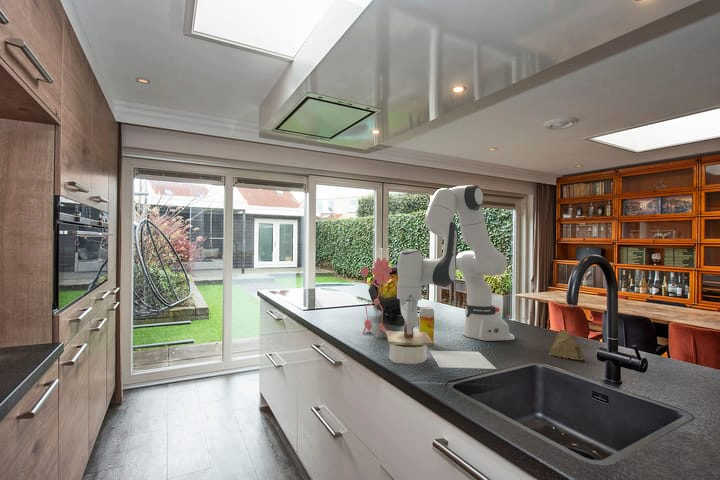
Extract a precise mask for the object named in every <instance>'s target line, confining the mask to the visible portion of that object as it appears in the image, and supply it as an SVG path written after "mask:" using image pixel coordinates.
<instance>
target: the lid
mask: <svg viewBox="0 0 720 480" xmlns="http://www.w3.org/2000/svg"><path fill="white" fill-rule="evenodd" d="M385 335H386V338H387V339H386V340H387V342H388V345H390V344H399V345H427V346H434V343H433V342H432V341H431V339H430V338H429V336H428V335H427V334H426V332H419V331H414V327H413V328H412V334H407V325H405V324H403V331H400V330H399V331H397V330H395V331H393V330H391V331H390V330H389V331H388V330H387V331H386V334H385Z"/></svg>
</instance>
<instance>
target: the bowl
mask: <svg viewBox="0 0 720 480" xmlns="http://www.w3.org/2000/svg"><path fill="white" fill-rule="evenodd" d="M388 350H389V355H388V356H389V360H390V361H391V362H392V363H394V364H399V365H400V364H405V365H406V364H407V365H409V364H412V365H417V364H421V363H424V362H425V361H427V353H428V345H399V344H389V349H388Z"/></svg>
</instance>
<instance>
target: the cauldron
mask: <svg viewBox="0 0 720 480" xmlns="http://www.w3.org/2000/svg"><path fill="white" fill-rule="evenodd" d="M390 267H391V269H392V272H391V273H389V274H390V276H391V277H392V279H393V280H394V281H395V282H396V283H398V274H397V270H398V264H396V265H392V266H390ZM373 280H374V276H373V277H372V279H371V282H372V281H373ZM374 283H375V284H376V285H378V286H380V284H381V283H382V282H381V283H380V284H377V280H375V281H374ZM369 284H370V285H369V288H368V294H369V296H370V300H371V302H372V303H374V300H375V299H377V297H378V293H379V289H381V290H380V293H379V297H378V300H379V301H380V305H381V307H382V309H383V317H382V318H383V319H386V320H388V321H389V320H391V319H393V318H395V317H401V316H402V314H401V308H400V299H397V285H396V284H395V283H394V282H393V281H392V280H391V278H390V279H387V283H386V284H384V283H382V285H381V286H380V288H378V287H377V286H375V285H374V284H372V283H369ZM380 305H379V304H378V305H375V307H376V309H377V310H378V311H380V312H382V309H381V307H380Z"/></svg>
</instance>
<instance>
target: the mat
mask: <svg viewBox="0 0 720 480" xmlns="http://www.w3.org/2000/svg"><path fill="white" fill-rule="evenodd" d="M429 353H430V354H431V356H432V358H433V359H434V360H435V362H436V364H437V366H438V368H443V369H446V368H448V369H450V368H451V369H452V368H453V369H482V370H484V369H486V370H489V369H491V370H497V367H495V366H494V365H493V364H492V363H491V362H490V361H489V360H488V359H487V358H486V357H485V356H484V355H483V354H481V353H480V352H479V351H461V350H460V351H459V350H429Z"/></svg>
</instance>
